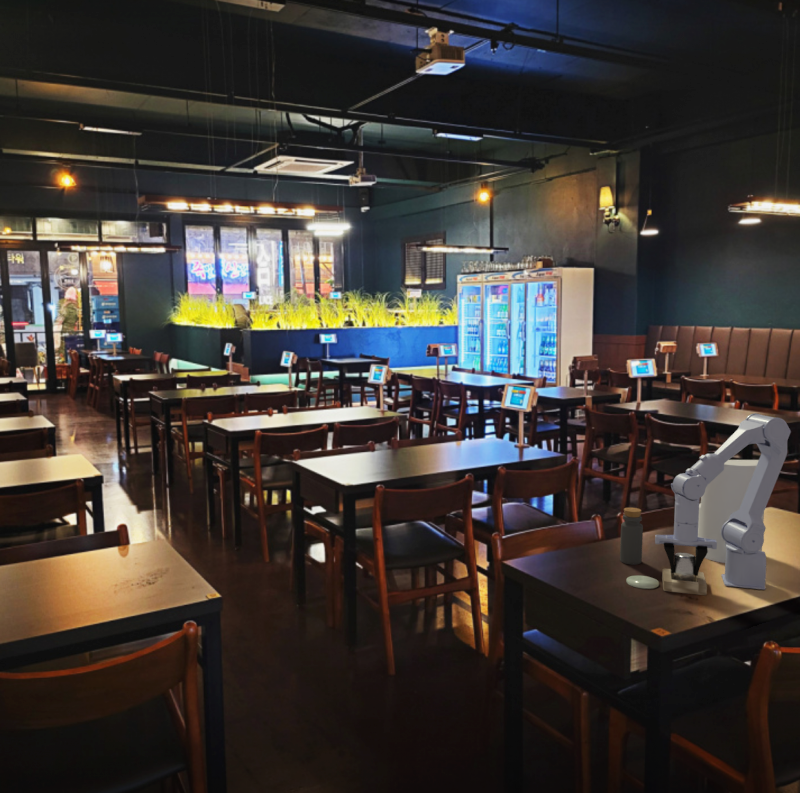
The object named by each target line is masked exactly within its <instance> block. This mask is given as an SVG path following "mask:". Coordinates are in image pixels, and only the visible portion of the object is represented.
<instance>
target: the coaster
mask: <svg viewBox="0 0 800 793" xmlns="http://www.w3.org/2000/svg"><path fill="white" fill-rule="evenodd" d="M626 584H627V585H629V586H631V587H634V588H637V589H645V590H648V589H649V590H652V589H653V590H654V589H656V588H658V587H659V586H660V581H659V580H657V579H656V578H653V577H650V576H647V575H631V576H628V577H627V578H626Z"/></svg>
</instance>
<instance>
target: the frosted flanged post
mask: <svg viewBox="0 0 800 793" xmlns="http://www.w3.org/2000/svg"><path fill="white" fill-rule="evenodd" d="M695 557H696V555H694V554H691V553H687V552H677V553H674V577H673V580H682V581H692V582H694V578H695Z"/></svg>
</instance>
